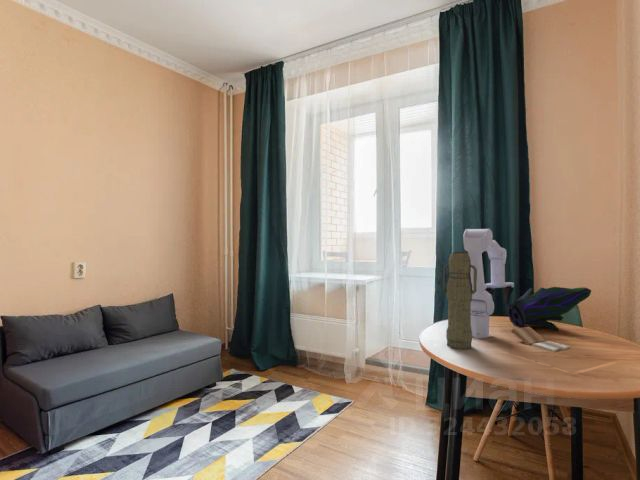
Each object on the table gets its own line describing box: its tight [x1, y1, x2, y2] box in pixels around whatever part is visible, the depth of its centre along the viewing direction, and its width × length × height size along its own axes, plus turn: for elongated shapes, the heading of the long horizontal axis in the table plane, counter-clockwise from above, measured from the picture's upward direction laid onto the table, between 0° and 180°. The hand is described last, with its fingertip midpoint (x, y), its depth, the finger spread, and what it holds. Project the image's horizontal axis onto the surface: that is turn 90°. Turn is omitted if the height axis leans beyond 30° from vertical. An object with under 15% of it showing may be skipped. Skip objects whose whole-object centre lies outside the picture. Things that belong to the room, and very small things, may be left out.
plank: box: [510, 326, 547, 346], centre depth 143 cm, size 10×8×1 cm
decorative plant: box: [505, 286, 592, 332], centre depth 167 cm, size 21×26×30 cm
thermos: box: [442, 251, 477, 351], centre depth 138 cm, size 9×12×35 cm
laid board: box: [530, 340, 571, 353], centre depth 136 cm, size 10×8×1 cm
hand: (498, 303), depth 170 cm, fingers open, 7 cm apart
